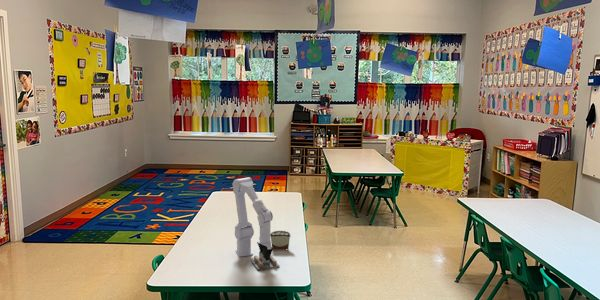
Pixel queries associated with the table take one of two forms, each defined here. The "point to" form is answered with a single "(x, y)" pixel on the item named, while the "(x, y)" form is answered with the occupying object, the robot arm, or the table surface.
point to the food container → (280, 240)
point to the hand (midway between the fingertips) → (265, 257)
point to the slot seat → (260, 266)
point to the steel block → (263, 258)
